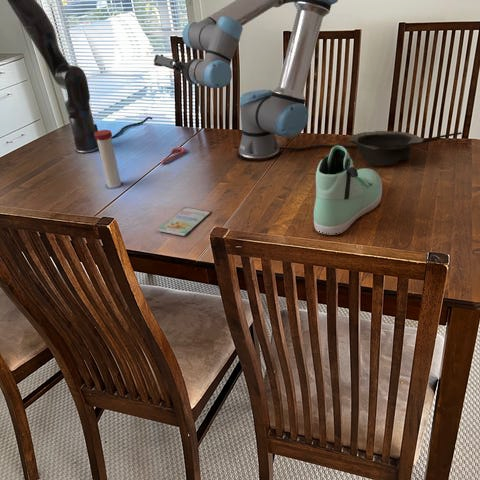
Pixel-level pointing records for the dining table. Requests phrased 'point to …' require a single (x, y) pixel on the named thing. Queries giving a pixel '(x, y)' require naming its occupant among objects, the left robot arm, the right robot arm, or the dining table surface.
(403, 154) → the stone bowl
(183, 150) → the candy cane
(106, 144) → the jar
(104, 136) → the lid
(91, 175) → the dining table surface
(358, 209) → the sneaker
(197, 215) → the baking ingredient package
